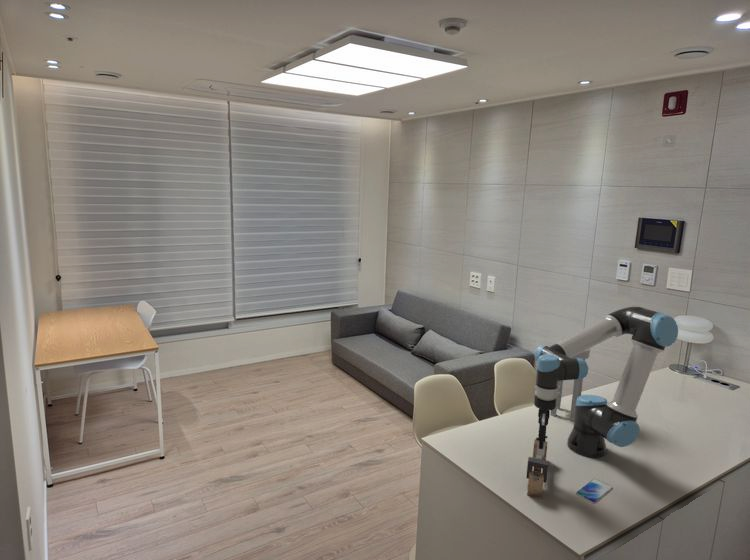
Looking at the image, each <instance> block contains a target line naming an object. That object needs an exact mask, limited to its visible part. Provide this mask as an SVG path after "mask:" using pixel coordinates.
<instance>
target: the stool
mask: <svg viewBox="0 0 750 560" xmlns="http://www.w3.org/2000/svg"><path fill="white" fill-rule="evenodd" d="M590 353H591V348H589V349H587V350H585V351H584V352H582V353H580V354H578V355H576V356H574V357H572V359H575V358H581V359H583V360H585V361H586V360H587V359H589V357H590ZM583 382H584V378H581V379H577V380H576V379H574V380H573V387H572V388H573V390H572V397H571V405H570V415H569V421H570V422H574V419H575V408H576V402H577V398H578V397H579V396H581V395H582V392H583V391H582V390H583ZM563 384H564V380H563V381H558V386H557V397H556V407H555V409H553V410H550V416H552V417H556V416H557V413H558V409H559V410H560V409H561V404H562V402H561V401H562V395H563V386H564V385H563Z"/></svg>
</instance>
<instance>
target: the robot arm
mask: <svg viewBox="0 0 750 560" xmlns="http://www.w3.org/2000/svg"><path fill="white" fill-rule="evenodd" d="M622 335H631V339H630V340H631V343H632V349H631V351H630V353H629V356H628V359H627V361H626V364H625V367H624V369H623V372H622V374H621V377H620V380H619V383H618V386H617V387H616V390H615V393H614V395H613V398H612V400H611V401H609V402H608V400H607V398H605V397H603V396H600V395H597V394H581V396H579V397H578V398H577V402H576V408H575V419H574V421H573V428H572V430H571V432H570V433H569V436H568V438H567V442H566V443H567V444H566V445H567V447H568V448H569V449H570V450H571V451H572V452H574V453H576V454H578V455H581V456H584V457H588V458H589V457H591V458H600V457H601V458H602V457H603V456H605V455H606V453H607V444H606V441H608V442H609V443H611V444H613V445H614V446H616V447H619V448H623V447H629V446H630V445H632V444H633V443H634V442H636V440H637V439H638V438H639V436H640V432H641V429H640V426H639V424H638V422H637V420H638V418H639V417H638V416H639V415H638V414H637V412H636V411H637V410H636V409H637V407H638V404H639V402H640V399H641V398H642V395H643V392H644V389H645V387H646V385H647V382H648V380H649V377H650V374H651V371H652V369H653V366H654V364H655V361H656V358H657V356H658V354H660V353H663V352H664V351H665V348H666V347H667V348H669V347H670V346H672V345H673V344H674V343H675V342H676V341H677V339H678V336H679V326H678V324H677V321H676V320H675V319H674V317H672V316H670V315H668V314H665V313H663V312H659V311H654V310H651V309H649V308H645V307H641V306H630V307H629V306H628V307H624V308H620V309H618V310H615V311H612V312H610V313H608V314H606V315H604V317H603V319H602V320H600V321H598V322H596V323H594V324H592V325H590V326H588V327H586V328H584V329H582V330H580V331H578V332H577V333H576V332H575V333H574V334H572V335H569V336H568V337H566V338H565V339H562V340H561V341H559V342H556V343H555V344H552V345H551V346H548V345H545V344H544V345H543V344H542V345H539V346H538V347H537V348H536V349H535V351H534V354H533V355H534V359H535V361H536V362H537V365H536V380H535V386H533V389H534V390H535V391H534V394H535V395H534V400H533V404H534V406H535V407H536V408H537V409H538V413H537V414H538V415H537V417H538V420H537V421H538V424H539V426H538V427H539V428H538V435H537V436H538V437H535V439H536V440H538V443H537V455H538V456H543V457H544V451H545V441H546V439H548V435H547V426H548V425H549V420H550V416H551V415H550V414H551V410H553V409H555V407H556V397H557V386H558V381H563V382H564V381H570V380H572V381H574V379H576V380H577V379H581V378H583V379H585V378H586V377H587V376H588V373H589V366H588V363H587V362H586V359H585V360H583V359H581V358H575V359H572V357H574V356H576V355H578V354H580V353H582V352H584V351H585V350H587V349H591V348H593V347H595V346H597V345H599V344H601V343H603V342H604V341H607V340H609V339H611V338H614V337H621V336H622ZM546 442H547V441H546Z"/></svg>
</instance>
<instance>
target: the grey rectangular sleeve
mask: <svg viewBox="0 0 750 560" xmlns="http://www.w3.org/2000/svg"><path fill="white" fill-rule="evenodd" d="M534 467H538V468H541V473H544V483H545V484H547V482H548V473H549V471H548V470H549V460H547V459H546V460H541V459H537V458H533V456H528V458H527V467H526V479H528V480H529V472H530V470H531V471H533V470H534ZM544 483H543V484H544Z"/></svg>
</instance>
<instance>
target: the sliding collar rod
mask: <svg viewBox="0 0 750 560" xmlns="http://www.w3.org/2000/svg"><path fill="white" fill-rule="evenodd" d="M548 442H549V441H545V451H544V457H543V456H538V455H537V443H538V440H536V438H535V439H534V442H533V449H532V450H533V451H532V458H537V459H541V460H546V461H547V454H548ZM527 485H528V486H527V494H526V495H527V496H529V495H530V497H534V498H538V499H543V492H544V473H542V468H538V467H533V470H532V471H531V470H530V472H529V479H528V483H527Z"/></svg>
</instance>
